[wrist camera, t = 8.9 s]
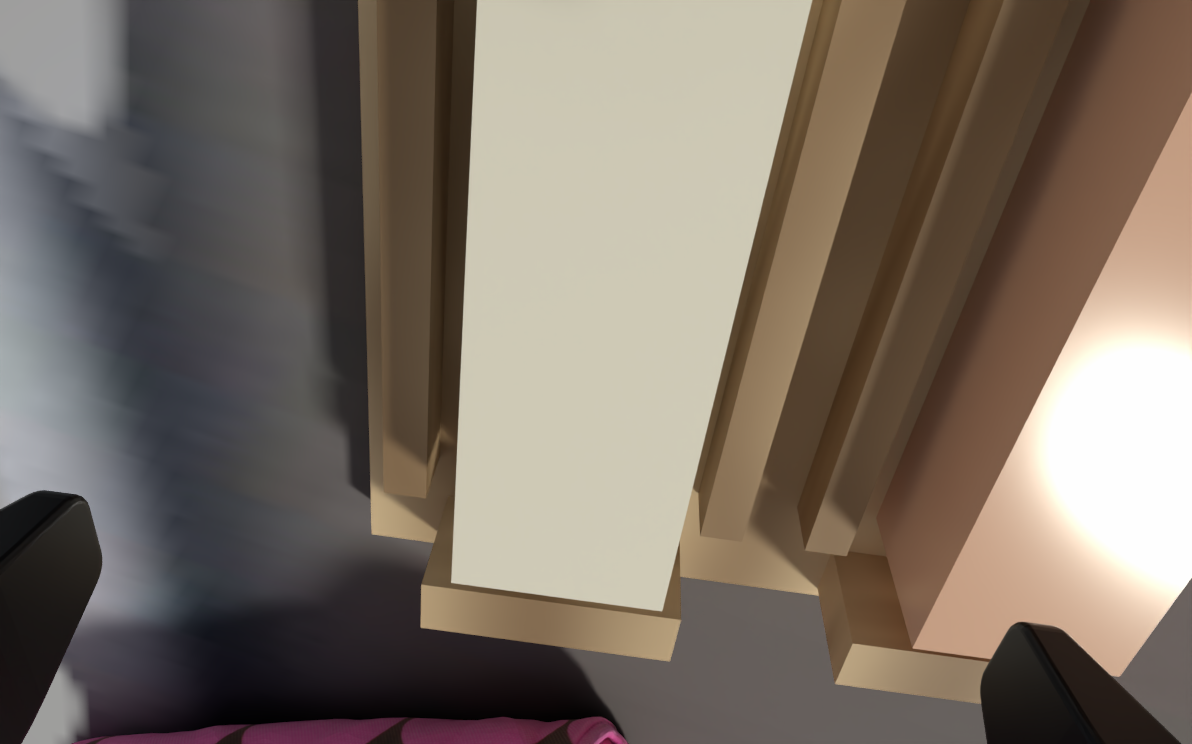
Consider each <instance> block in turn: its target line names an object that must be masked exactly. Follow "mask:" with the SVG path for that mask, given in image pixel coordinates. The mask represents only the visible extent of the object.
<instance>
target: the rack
mask: <svg viewBox="0 0 1192 744" xmlns="http://www.w3.org/2000/svg"><path fill="white" fill-rule="evenodd" d="M1089 2H1090V0H812V4H811V8H810V12H809V16H808V20H807V24H806V28H805V32H804V36H803V41H802V45H801V49H800V53H799V57H798V61H797V65H796V69H795V73H794V77H793V81H792V85H791V89H790V93H789V98H788V102H787V106H786V110H785V114H784V118H783V122H782V126H781V130H780V134H779V138H778V142H777V146H776V150H775V155H774V159H773V163H772V167H771V171H770V175H769V179H768V183H767V187H766V191H765V195H764V199H763V203H762V207H761V211H760V216H759V220H758V224H757V228H756V232H755V236H754V240H753V244H752V248H751V252H750V256H749V260H748V264H747V268H746V273H745V277H744V281H743V285H742V289H741V293H740V297H739V301H738V305H737V309H736V313H735V317H734V321H733V325H732V330H731V334H730V338H729V342H728V346H727V350H726V354H725V358H724V362H723V366H722V370H721V374H720V378H719V382H718V386H717V391H716V395H715V399H714V403H713V407H712V411H711V415H710V419H709V423H708V427H707V431H706V435H705V439H704V443H703V448H702V452H701V456H700V460H699V464H698V468H697V472H696V476H695V480H694V484H693V488H692V492H691V496H690V500H689V505H688V509H687V513H686V517H685V521H684V525H683V529H682V533H681V537H680V541H679V545H678V549H677V553H676V557H675V561H674V566H673V570H672V574H671V578H670V582H669V586H668V590H667V594H666V598H665V602H664V606H663V610H662V611H655V610H647V609H640V608H633V607H625V606H618V605H611V604H603V603H596V602H589V601H581V600H574V599H566V598H559V597H552V596H544V595H537V594H530V593H522V592H515V591H507V590H500V589H493V588H485V587H478V586H471V585H463V584H456V583H451V576H452V554H453V531H454V509H455V487H456V464H457V442H458V419H459V397H460V374H461V352H462V329H463V307H464V285H465V262H466V240H467V217H468V195H469V172H470V150H471V127H472V105H473V82H474V60H475V38H476V15H477V0H358V19H359V58H360V97H361V136H362V175H363V214H364V253H365V292H366V330H367V369H368V408H369V447H370V486H371V525H372V534H374V535H381V536H388V537H396V538H403V539H410V540H417V541H425V542H432V543H434V544H433V548H432V551H431V554H430V558H429V561H428V564H427V568H426V571H425V574H424V577H423V581H422V584H421V628H427V629H434V630H442V631H449V632H456V633H464V634H471V635H478V636H486V637H493V638H500V639H508V640H515V641H523V642H530V643H537V644H545V645H552V646H559V647H567V648H574V649H581V650H589V651H596V652H604V653H611V654H618V655H626V656H633V657H640V658H648V659H655V660H662V661H670V659H671V655H672V652H673V648H674V644H675V641H676V637H677V633H678V629H679V626H680V622H681V590H680V577H687V578H694V579H702V580H709V581H716V582H723V583H731V584H738V585H745V586H753V587H760V588H767V589H774V590H782V591H789V592H796V593H804V594H811V595H818V596H819V599H820V605H821V610H822V616H823V621H824V627H825V632H826V638H827V643H828V649H829V654H830V660H831V665H832V670H833V676H834V681H835V684H839V685H847V686H854V687H861V688H869V689H876V690H883V691H891V692H898V693H905V694H913V695H920V696H928V697H935V698H942V699H950V700H957V701H964V702H972V703H979V704H981V698H980V684H981V679H982V675H983V672H984V670H985V668H986V667H987V665H988V663H989V661H990V660H991V659H986V658H979V657H972V656H964V655H957V654H950V653H942V652H935V651H928V650H920V649H913V648H912V646H911V642H910V638H909V635H908V631H907V628H906V624H905V620H904V617H903V613H902V610H901V606H900V602H899V599H898V595H897V592H896V588H895V584H894V581H893V577H892V574H891V570H890V566H889V563H888V559H887V556H886V552H885V548H884V545H883V541H882V538H881V534H880V530H879V527H878V523H877V520H876V517H877V515H878V512H879V510H880V507H881V505H882V502H883V500H884V498H885V495H886V493H887V490H888V488H889V486H890V483H891V481H892V478H893V476H894V473H895V471H896V469H897V466H898V464H899V461H900V459H901V457H902V454H903V452H904V449H905V447H906V444H907V442H908V440H909V437H910V435H911V432H912V430H913V428H914V425H915V423H916V420H917V418H918V415H919V413H920V411H921V408H922V406H923V403H924V401H925V399H926V396H927V394H928V391H929V389H930V386H931V384H932V382H933V379H934V377H935V374H936V372H937V370H938V367H939V365H940V362H941V360H942V357H943V355H944V353H945V350H946V348H947V345H948V343H949V341H950V338H951V336H952V333H953V331H954V328H955V326H956V324H957V321H958V319H959V316H960V314H961V312H962V309H963V307H964V304H965V302H966V299H967V297H968V295H969V292H970V290H971V287H972V285H973V283H974V280H975V278H976V275H977V273H978V270H979V268H980V266H981V263H982V261H983V258H984V256H985V254H986V251H987V249H988V246H989V244H990V241H991V239H992V237H993V234H994V232H995V229H996V227H997V225H998V222H999V220H1000V217H1001V215H1002V212H1003V210H1004V208H1005V205H1006V203H1007V200H1008V198H1009V196H1010V193H1011V191H1012V188H1013V186H1014V183H1015V181H1016V179H1017V176H1018V174H1019V171H1020V169H1021V167H1022V164H1023V162H1024V159H1025V157H1026V154H1027V152H1028V150H1029V147H1030V145H1031V142H1032V140H1033V138H1034V135H1035V133H1036V130H1037V128H1038V126H1039V123H1040V121H1041V118H1042V116H1043V113H1044V111H1045V109H1046V106H1047V104H1048V101H1049V99H1050V97H1051V94H1052V92H1053V89H1054V87H1055V84H1056V82H1057V80H1058V77H1059V75H1060V72H1061V70H1062V68H1063V65H1064V63H1065V60H1066V58H1067V55H1068V53H1069V51H1070V48H1071V46H1072V43H1073V41H1074V39H1075V36H1076V34H1077V31H1078V29H1079V26H1080V24H1081V22H1082V19H1083V17H1084V14H1085V12H1086V10H1087V7H1088V5H1089Z"/></svg>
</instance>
